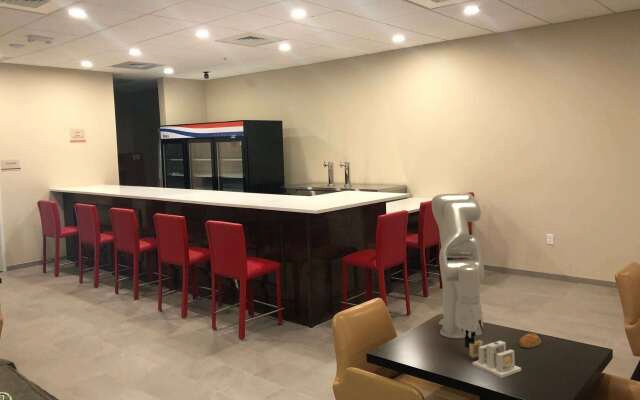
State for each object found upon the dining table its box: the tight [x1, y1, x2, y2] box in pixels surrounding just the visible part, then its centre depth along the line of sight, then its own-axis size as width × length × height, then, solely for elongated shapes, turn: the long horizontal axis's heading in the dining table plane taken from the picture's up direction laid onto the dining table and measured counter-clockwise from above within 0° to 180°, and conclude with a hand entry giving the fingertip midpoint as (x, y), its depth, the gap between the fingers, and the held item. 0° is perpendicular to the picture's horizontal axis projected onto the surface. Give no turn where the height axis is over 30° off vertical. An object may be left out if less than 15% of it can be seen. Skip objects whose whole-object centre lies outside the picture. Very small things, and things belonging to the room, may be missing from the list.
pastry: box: [518, 332, 542, 349], centre depth 201 cm, size 9×7×4 cm
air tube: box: [468, 339, 513, 367], centre depth 183 cm, size 16×5×5 cm, turn 30°
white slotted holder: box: [471, 340, 522, 379], centre depth 181 cm, size 13×10×9 cm
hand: (469, 346), depth 192 cm, fingers closed
